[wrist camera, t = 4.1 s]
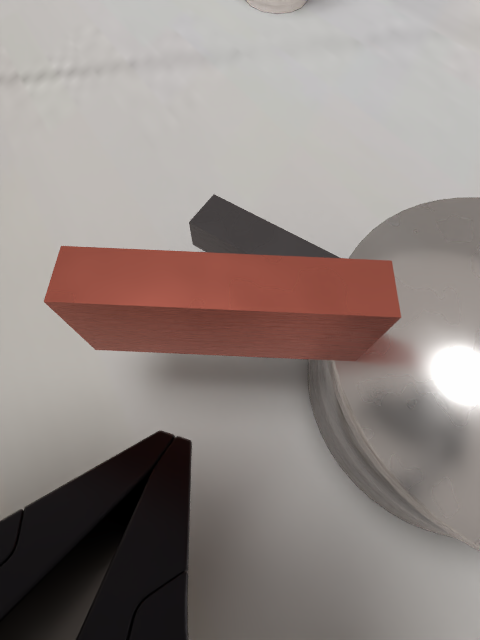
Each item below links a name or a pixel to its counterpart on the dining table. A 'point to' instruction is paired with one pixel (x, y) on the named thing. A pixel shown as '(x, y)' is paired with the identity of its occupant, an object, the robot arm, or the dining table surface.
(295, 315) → the lid
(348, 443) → the pot
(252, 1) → the foam cup
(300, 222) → the dining table surface
